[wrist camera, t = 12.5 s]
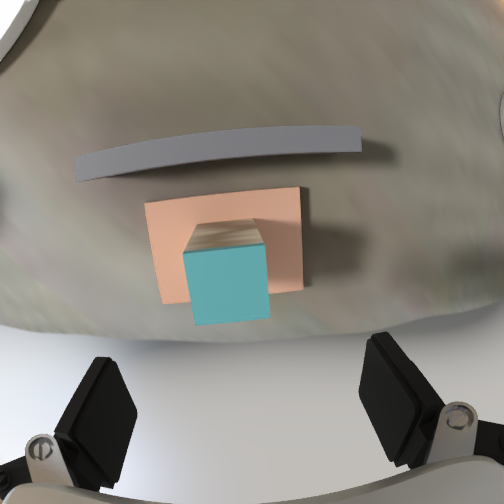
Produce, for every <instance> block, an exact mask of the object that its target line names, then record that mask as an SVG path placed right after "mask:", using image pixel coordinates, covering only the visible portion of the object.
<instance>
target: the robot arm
mask: <svg viewBox="0 0 504 504" xmlns="http://www.w3.org/2000/svg"><path fill="white" fill-rule="evenodd" d="M500 119H501V127H502V133H503V137H504V95H503V97H502V100H501V107H500ZM359 397H360V400H361V402H362V404H363V406H364V408H365V410H366V412H367V414H368V416H369V419H370V421H371V423H372V425H373V427H374V429H375V431H376V433H377V435H378V438H379V440H380V442H381V444H382V447H383V449H384V451H385V453H386V455H387V458H388V459H389V461H390V462H393V461H394V463H395V466H396V467H399V466H402V465H404V464H407V465H408V467H409V468H410V470H409V471H406V472H403V473H400V474H397V475H395V476H392V477H389V478H385V479H383V480H379V481H376V482H372V483H369V484H365V485H362V486H358V487H354V488H350V489H346V490H343V491H338V492H334V493H329V494H325V495H319V496H314V497H308V498H303V499H296V500H289V501H282V502H272V503H262V504H504V425H502V424H496V423H491V422H487V421H482V420H478V415H477V412H476V410H475V409H474V408H473V407H472V406H471V405H469V404H467V403H464V402H452V403H449V404H447V405H445V404H444V402H443V401H442V399H441V398H440V397H439V396H438V394H437V393H436V391H435V390H434V389H433V387H432V386H431V385H430V384H429V382H428V381H427V379H426V378H425V377H424V376H423V374H422V373H421V372H420V371H419V369H418V368H417V366H416V365H415V364H414V363H413V362H412V361H411V360H410V359H409V358H408V357H407V356H406V354H405V353H404V352H403V350H402V349H401V348H400V347H399V345H398V344H397V343H396V341H394V339H393V338H392V336H391V335H390V334H389V333H388V332H381V333H376V334H373V335H372V336H371V339H368V340H367V344H366V351H365V357H364V364H363V370H362V375H361V381H360V386H359ZM136 419H137V409H136V407H135V405H134V402H133V400H132V398H131V396H130V394H129V391H128V389H127V387H126V385H125V382H124V380H123V378H122V375H121V373H120V371H119V368H118V366H117V363H116V362H115V361H112V359H111V358H110V357H96V358H95V359H94V360H93V362H92V364H91V366H90V367H89V369H88V370H87V372H86V374H85V376H84V377H83V379H82V381H81V382H80V384H79V386H78V388H77V389H76V391H75V393H74V395H73V397H72V398H71V400H70V402H69V404H68V406H67V407H66V409H65V411H64V413H63V415H62V417H61V419H60V421H59V423H58V424H57V426H56V428H55V430H54V432H55V434H54V436H53V437H52V436H50V435H48V434H39V435H36V436H34V437H32V438H31V439H30V440H29V441H28V443H27V445H26V447H25V456H23V457H20V458H18V459H16V460H13V461H11V462H8V463H6V464H3V465H0V504H170V503H160V502H151V501H144V500H137V499H130V498H124V497H118V496H113V495H108V494H103V493H100V492H99V490H100V487H106V488H111V489H113V487H114V484H115V483H117V482H118V481H119V478H120V474H121V471H122V467H123V463H124V460H125V456H126V453H127V449H128V446H129V442H130V439H131V435H132V432H133V429H134V425H135V422H136Z"/></svg>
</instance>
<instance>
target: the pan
mask: <svg viewBox="0 0 504 504" xmlns="http://www.w3.org/2000/svg"><path fill="white" fill-rule="evenodd" d="M38 2H39V0H0V62H1V61H2V59H3V58H4V57H5V55H6V54H7V53H8V52H9V50H10V49H11V48H12V46H13V45H14V43H15V42H16V40H17V39H18V38H19V36H20V35H21V33H22V32H23V30H24V28H25V27H26V25H27V23H28V22H29V20H30V18H31V16H32V14H33V13H34V11H35V9H36V7H37V5H38Z"/></svg>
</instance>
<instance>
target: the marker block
mask: <svg viewBox="0 0 504 504" xmlns="http://www.w3.org/2000/svg"><path fill="white" fill-rule="evenodd" d="M182 255H183V261H184V267H185V273H186V278H187V284H188V290H189V295H190V300H191V306H192V311H193V316H194V321H195V326H196V325H208V324H219V323H229V322H238V321H247V320H256V319H265V318H270V305H269V291H268V278H267V264H266V251H265V244H264V242H263V240H262V237H261V235H260V233H259V231H258V229H257V227H256V224H255V222H254V220H253V218H248V219H239V220H229V221H220V222H211V223H202V224H197V225H196V227H195V229H194V231H193V233H192V235H191V237H190V239H189V241H188V243H187V245H186V248H185V250H184V252H183V254H182Z"/></svg>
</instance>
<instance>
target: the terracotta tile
mask: <svg viewBox="0 0 504 504" xmlns="http://www.w3.org/2000/svg"><path fill="white" fill-rule="evenodd" d="M144 205H145V212H146V218H147V225H148V231H149V237H150V243H151V249H152V254H153V260H154V265H155V270H156V275H157V280H158V285H159V290H160V294H161V299H162V303H163V304H170V303H182V302H191V300H190V295H189V290H188V284H187V278H186V273H185V267H184V261H183V255H182V254H183V252H184V250H185V248H186V245H187V243H188V241H189V239H190V237H191V235H192V233H193V231H194V229H195V227H196V225H197V224H202V223H211V222H220V221H229V220H239V219H248V218H253V220H254V222H255V224H256V227H257V229H258V231H259V233H260V235H261V237H262V240H263V242H264V244H265V251H266V264H267V278H268V291H269V294H272V293H280V292H288V291H296V290H303V256H302V229H301V208H300V190H299V187H298V186H293V187H279V188H266V189H254V190H243V191H233V192H223V193H214V194H205V195H197V196H188V197H180V198H173V199H165V200H158V201H151V202H146V203H144Z"/></svg>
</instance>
